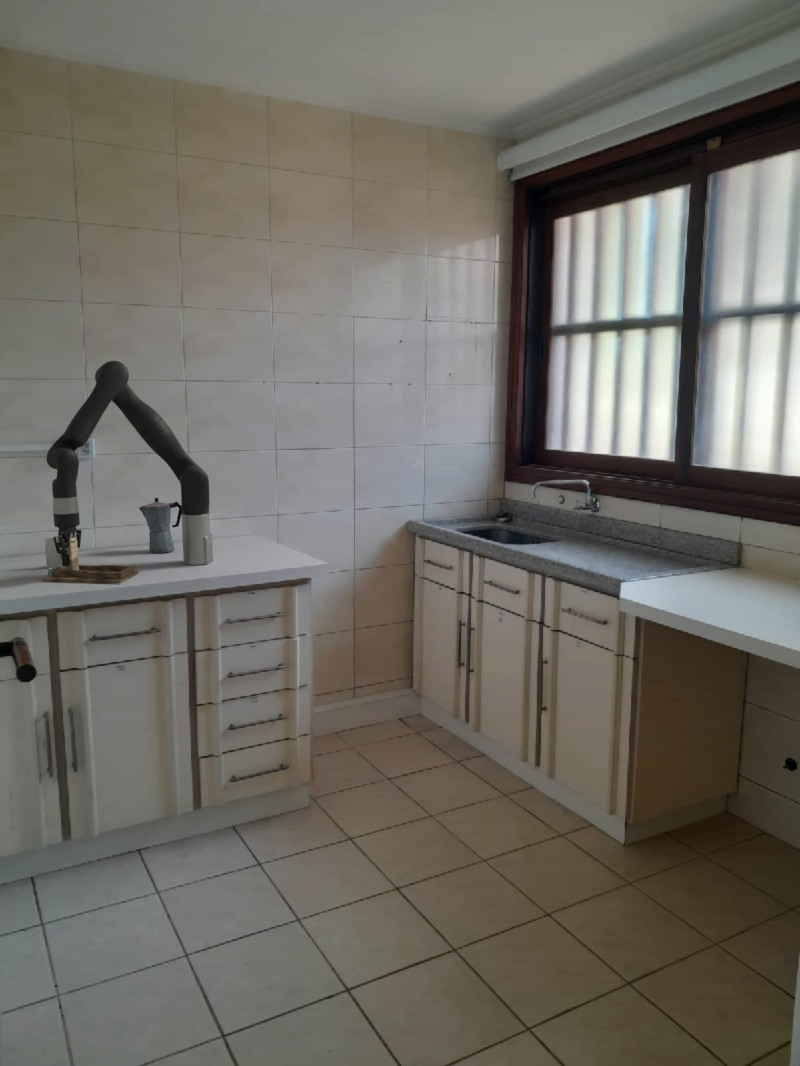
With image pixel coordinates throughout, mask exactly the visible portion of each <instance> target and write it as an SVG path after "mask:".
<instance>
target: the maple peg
mask: <svg viewBox="0 0 800 1066" xmlns="http://www.w3.org/2000/svg"><path fill="white" fill-rule="evenodd" d="M70 541H71V543H70V547H69V558H70V565H69V566H63V565H62V555H61V554H60V568H61V570H79V565H80V564H79V563H80V562H79V551H78V550H79V548H78V547H77V541H76V537H75V538H72V539H71V540H70ZM64 544H65V545H67V544H68V542H64ZM59 548H60V547H59ZM65 548H66V547H65Z"/></svg>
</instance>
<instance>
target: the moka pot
mask: <svg viewBox="0 0 800 1066" xmlns="http://www.w3.org/2000/svg"><path fill="white" fill-rule="evenodd" d="M153 500H154V502H152V503H148V504H145V505H141V506H140V507H138V510H140V512H141V513H142V515H143V516H144V518H145V521H146V524H147V527H148V528H149V529H148V531H149V533H148V535H149V548H148V549H149V553H151V554H164V553H171V552H173V551H174V550H175V544H174V540H173V536H172V533H171V527H172V528H177V527H179V526H180V522H181V519H182V512H181V503H180V504H179V502H178V501H175V502H168V503H165V502H160V501H159V498H158V497H153ZM175 508H178V513H177V518H176V522H175V524H172V525H171V510H172V509H175Z"/></svg>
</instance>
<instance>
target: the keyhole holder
mask: <svg viewBox="0 0 800 1066" xmlns="http://www.w3.org/2000/svg"><path fill="white" fill-rule="evenodd" d="M139 572H140V571H139V570H138V569H137V570H136V565H127V564H125V565H121V564H99V565H96V564H95V565H93V564H92V565H91V564H89V565H88V564H86V565H85V564H79V570H61V568H60V565H58V566H56V567H54V568H52V569H48V570H47V576H44V577H43V578H42V582H43V581H49V582H48V583H73V582H79V583H78V584H81V583H82V584H107V583H121V582H123V581H124V582H126V581H127V580H126V579H128V578H130V577H131V578H133V577H134V575H135V576H137V575H138V574H139ZM136 574H137V575H136ZM132 576H133V577H132ZM131 578H130V579H131ZM125 580H126V581H125ZM128 580H129V579H128ZM124 582H123V583H124ZM121 584H122V583H121Z"/></svg>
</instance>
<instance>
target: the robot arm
mask: <svg viewBox="0 0 800 1066" xmlns="http://www.w3.org/2000/svg"><path fill="white" fill-rule="evenodd" d="M94 374H95V375H94V380H95V385H94V387H93V389H92V391H91V393H90V395H89V396H88V398H87V399H86V400H85V401H84V403H83V404H82V405H81V406H80V408H78V411H77V412H76V414H75V415H74V416H73V418H72V420H71V421H70V423H69V424H68V425H67V428H66V429H65V430H64V432H63V433H62V434H61V436H59V437H58V438H57V440H56V441H54V443H53V444H52V445H51V446H50V448H49V449H48V451H47V453H46V464H47V466H49V467H50V468H51V469H53V470H57V471H56V478H54V479H53V480H52V483H51V489H52V515H53V525H54V527H55V528H58V533H57V534H58V535H57V536H53V537H52V538H53V540H54V543H55V547H56V550H57V553H58V554H61V555H62V565H63V566H69V565H70V558H69V547H70V543H71V541H70V540H71V539H72V538H75V537H76V541H77V547H78V549H80V548H81V542H82V541H81V539H82V531H83V530H82V529H77V527H78V526H79V525H80V524H81V521H80V510H79V508H80V507H79V500H78V491H77V479H78V474H79V466H80V461H79V457H78V454H77V452H76V450H77V449H79V448H83V446H85V445H86V444H87V442H88V440H89V439H90V438H91V436H92V434H93V432H94V431H95V429H96V427H97V425H98V423H99V422H100V420H101V418H102V417H103V415H104V413H105V411H106V410H107V408H108V406H109V405H110V404H111V403H114V404H115V406H116V407H117V408H118V409H119V410H120V412H121V413H122V414H123V415H124V417H125V418H126V420H127V421H128V422H129V423H130V425H131V426H132V427H133V428H134V429H135V430H136V432H137V433H138V435H139V436H140V437H141V439H142V441H144V442H145V443H146V444H147V446H148V447H149V448H150V449H151V451H153V452H154V453H155V454H156V455H157V456H158V457H159V458H160V459H162V461H164V462H165V463H166V465H168V467H169V468H170V469H171V471H172V472H173V474H174V475H175V477H176V478H177V480H178V482H179V484H180V496H181V497H180V498H181V502H180V505H181V512H182V514H181V531H182V532H181V533H182V534H181V535H182V552H183V557H182V558H183V564H185V565H191V566H192V565H193V566H199V565H200V566H201V565H209V564H210V563H211V561H212V562H213V561H214V555H213V553H214V552H213V551H214V549H213V534H212V533H211V529H210V528H211V525H210V523H211V522H210V481H209V480H210V479H209V476H208V474H207V472H206V471H205V470H204V469H203V468H202V467H200V465H198V464H197V463H196V462H195V461H194V460H193V459H192V458H191V456H190V455H188V453H187V452H186V451H185V450H184V448H183V446H182V444H181V443H180V441H179V439H178V438H177V437H176V435H175V433H174V432H173V430H172V429H171V427H170V426H169V425H168V424H167V422H166V421H165V420H164V419H163V418H162V416H161V415H160V414H159V413H158V412H157V411H156V410H155V409H154V408H153V407H151V406H150V405H148V404H147V403H145V402H144V401H143V400H142V399H141V398H139V396H137V394H135V392H134V391H133V389H132V388H131V387H130V385H129V378H130V373H129V369H128V367H127V366H126V365H125V364H124V363H122V362H121V361H118V360H109V361H106V362H105V363H103V364H102V365H101V366H100V367H98V369H97V370H95V373H94ZM64 542H68V544H67V545H65V544H64ZM59 547H60V548H59ZM65 547H66V548H65ZM208 563H209V564H208Z"/></svg>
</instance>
